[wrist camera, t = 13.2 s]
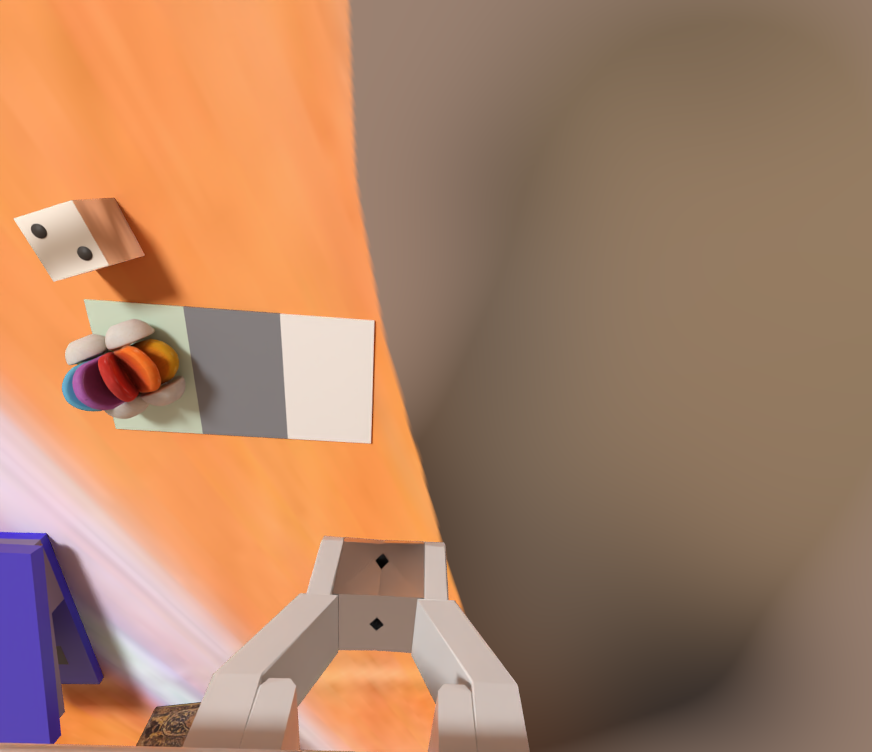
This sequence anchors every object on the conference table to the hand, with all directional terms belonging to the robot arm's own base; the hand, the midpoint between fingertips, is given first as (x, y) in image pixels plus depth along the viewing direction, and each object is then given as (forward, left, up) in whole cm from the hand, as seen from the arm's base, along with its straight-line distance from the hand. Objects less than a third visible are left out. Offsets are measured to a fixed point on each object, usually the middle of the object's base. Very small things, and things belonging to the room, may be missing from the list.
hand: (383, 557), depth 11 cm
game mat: (+11, -17, -33) cm, 39 cm away
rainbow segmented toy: (+10, -27, -33) cm, 43 cm away
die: (-2, -28, -33) cm, 43 cm away
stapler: (+47, -46, -34) cm, 74 cm away
